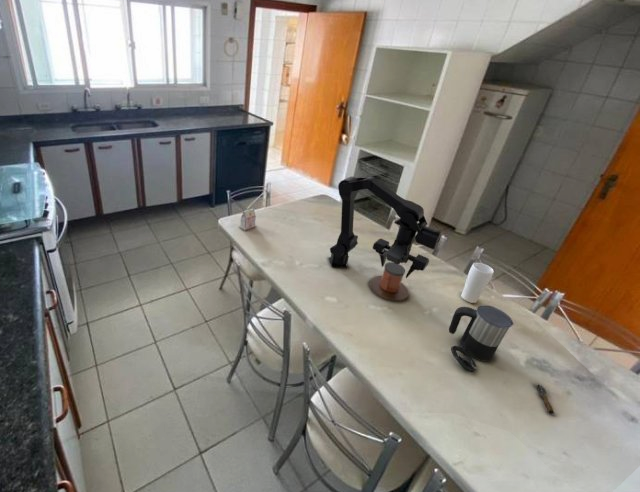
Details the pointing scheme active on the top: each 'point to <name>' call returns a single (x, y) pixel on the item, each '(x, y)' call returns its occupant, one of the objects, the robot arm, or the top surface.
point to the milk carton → (248, 219)
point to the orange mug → (392, 277)
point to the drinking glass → (476, 282)
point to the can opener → (545, 398)
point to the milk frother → (479, 333)
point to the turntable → (386, 295)
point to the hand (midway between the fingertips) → (394, 271)
